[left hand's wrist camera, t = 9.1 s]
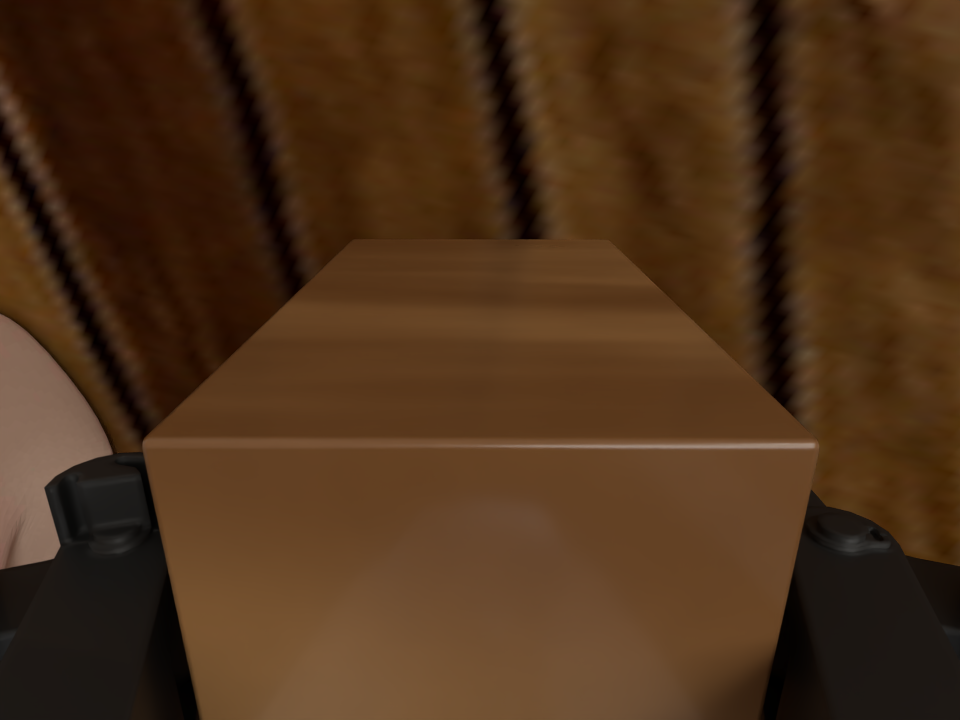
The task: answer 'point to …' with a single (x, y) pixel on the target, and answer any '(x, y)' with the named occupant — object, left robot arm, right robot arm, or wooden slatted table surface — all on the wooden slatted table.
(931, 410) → the wooden slatted table surface
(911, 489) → the wooden slatted table surface
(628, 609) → the bar
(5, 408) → the anatomical model
